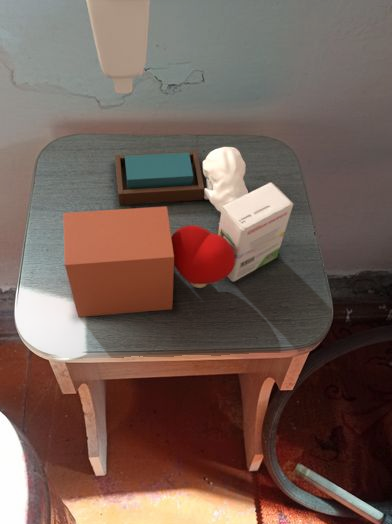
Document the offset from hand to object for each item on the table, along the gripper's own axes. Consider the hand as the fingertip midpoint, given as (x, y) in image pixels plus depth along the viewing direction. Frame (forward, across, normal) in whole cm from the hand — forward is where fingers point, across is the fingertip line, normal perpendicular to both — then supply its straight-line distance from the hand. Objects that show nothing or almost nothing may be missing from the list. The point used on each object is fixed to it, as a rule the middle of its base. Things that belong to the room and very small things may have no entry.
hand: (120, 58), depth 58 cm
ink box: (+29, +6, +16) cm, 34 cm away
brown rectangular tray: (+29, -10, +5) cm, 31 cm away
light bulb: (+29, +9, +9) cm, 32 cm away
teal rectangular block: (+28, -10, +5) cm, 31 cm away
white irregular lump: (+29, -4, +15) cm, 33 cm away
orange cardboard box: (+29, +9, -2) cm, 31 cm away
